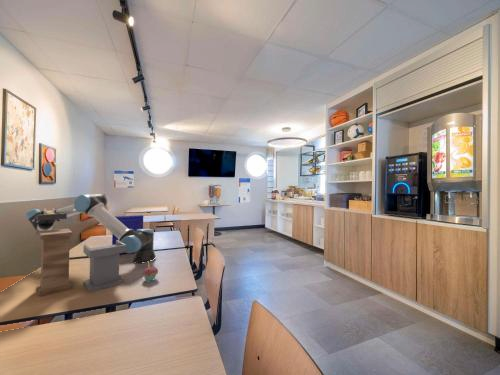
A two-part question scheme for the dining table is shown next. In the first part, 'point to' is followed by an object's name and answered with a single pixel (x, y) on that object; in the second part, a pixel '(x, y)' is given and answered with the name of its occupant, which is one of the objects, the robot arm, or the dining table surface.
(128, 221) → the cereal box
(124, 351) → the dining table surface
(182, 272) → the dining table surface
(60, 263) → the pin stand
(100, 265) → the tray stand
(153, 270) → the cupcake
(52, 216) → the pin
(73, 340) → the dining table surface
